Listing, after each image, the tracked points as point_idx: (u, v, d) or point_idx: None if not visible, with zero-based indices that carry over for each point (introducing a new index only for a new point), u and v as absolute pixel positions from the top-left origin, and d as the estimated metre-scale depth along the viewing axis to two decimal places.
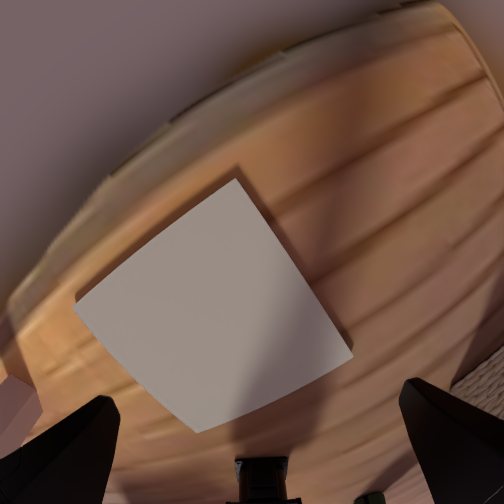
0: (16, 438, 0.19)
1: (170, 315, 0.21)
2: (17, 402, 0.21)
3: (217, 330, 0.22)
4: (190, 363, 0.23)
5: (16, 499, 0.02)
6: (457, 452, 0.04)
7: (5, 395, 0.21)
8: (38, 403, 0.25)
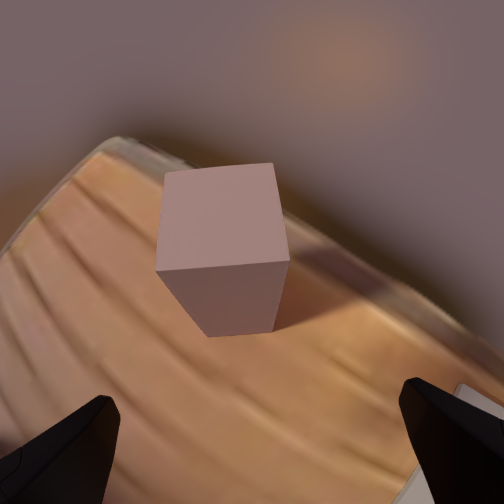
0: (220, 306, 0.15)
1: None
2: None
3: None
4: None
5: (17, 499, 0.02)
6: (457, 452, 0.04)
7: None
8: (237, 334, 0.21)
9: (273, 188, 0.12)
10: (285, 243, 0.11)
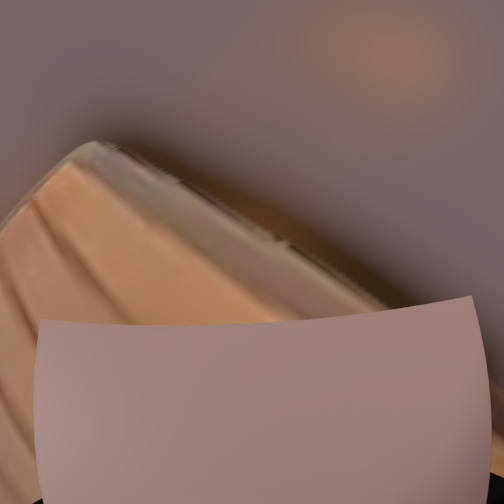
0: None
1: None
2: None
3: None
4: None
5: None
6: None
7: None
8: None
9: (482, 425, 0.02)
10: None
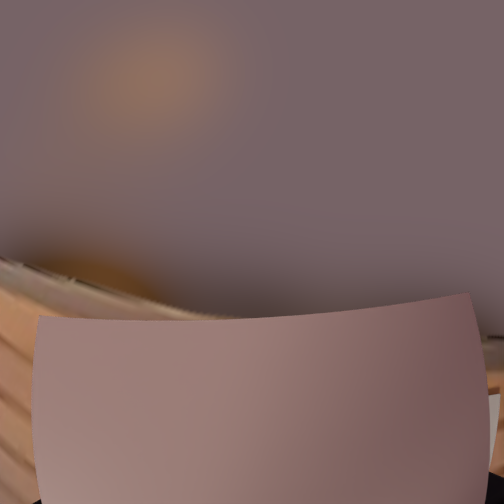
0: None
1: None
2: None
3: None
4: None
5: None
6: None
7: None
8: None
9: (479, 423, 0.02)
10: None
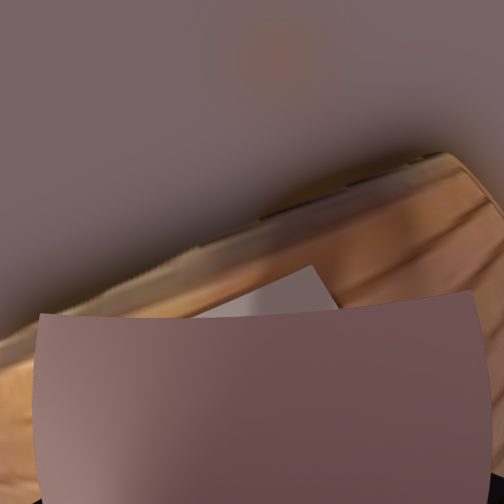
0: None
1: None
2: None
3: None
4: None
5: None
6: None
7: None
8: None
9: (482, 420, 0.02)
10: None
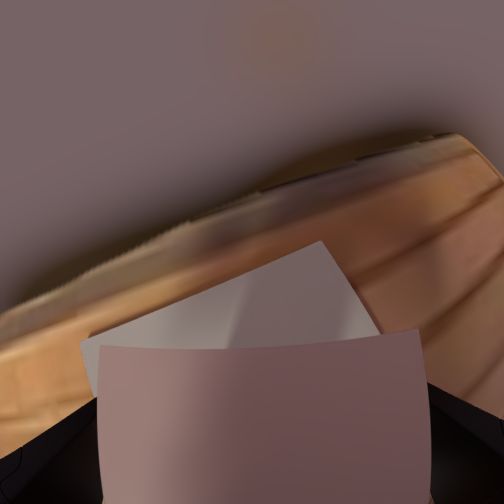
0: None
1: None
2: None
3: None
4: None
5: (17, 499, 0.02)
6: (457, 452, 0.04)
7: None
8: None
9: (420, 424, 0.03)
10: None
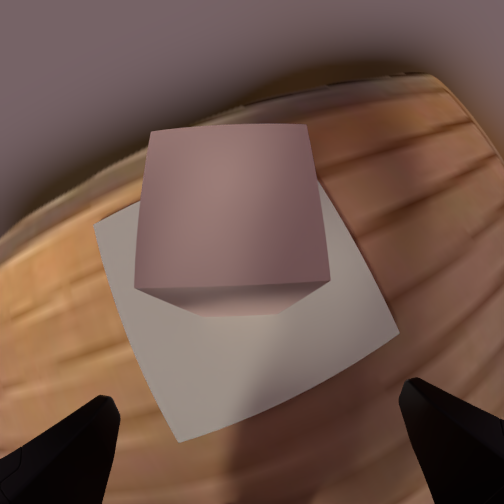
0: (222, 305, 0.12)
1: None
2: None
3: None
4: None
5: (16, 499, 0.02)
6: (457, 452, 0.04)
7: None
8: (238, 315, 0.19)
9: (308, 163, 0.08)
10: (325, 253, 0.07)
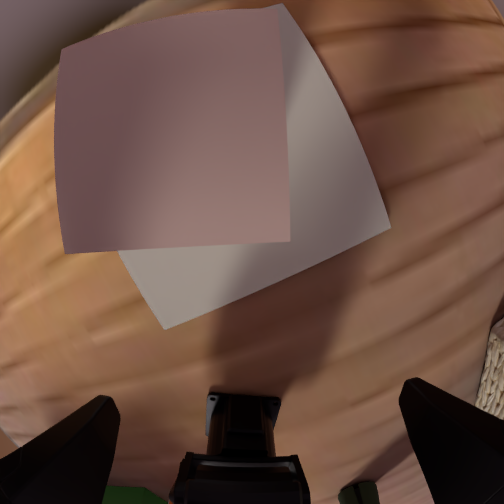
0: None
1: None
2: None
3: None
4: None
5: (16, 499, 0.02)
6: (457, 452, 0.04)
7: None
8: None
9: (273, 68, 0.05)
10: (285, 204, 0.05)
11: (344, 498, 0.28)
